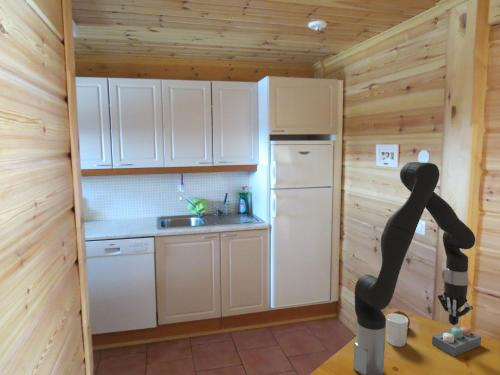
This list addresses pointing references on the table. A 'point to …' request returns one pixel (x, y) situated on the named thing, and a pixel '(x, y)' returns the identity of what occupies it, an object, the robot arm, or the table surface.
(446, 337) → the ivory button
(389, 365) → the table surface
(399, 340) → the white cup
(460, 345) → the button panel
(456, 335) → the teal button
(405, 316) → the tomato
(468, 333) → the pink cube
